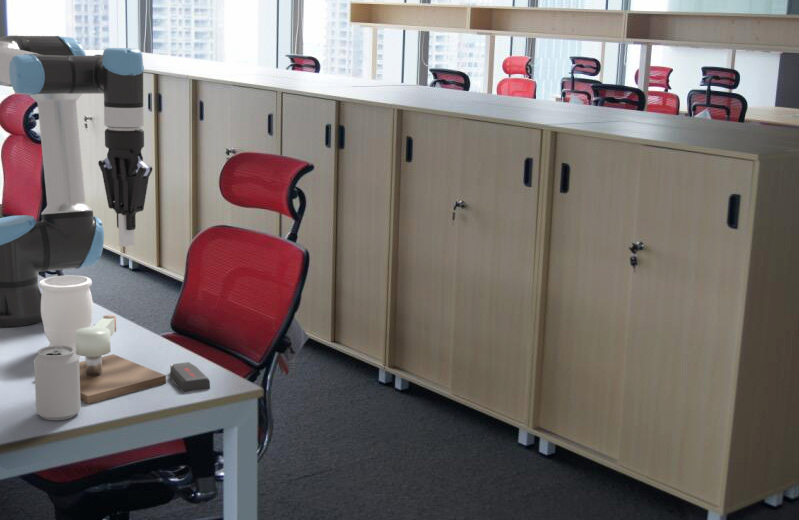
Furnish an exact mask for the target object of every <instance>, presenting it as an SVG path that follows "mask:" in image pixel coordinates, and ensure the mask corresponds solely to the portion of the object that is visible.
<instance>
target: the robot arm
mask: <svg viewBox="0 0 799 520" xmlns="http://www.w3.org/2000/svg"><path fill="white" fill-rule="evenodd" d="M84 49H85V48H84V47H83V45H82V44H81V43H80V42H79V40H77V39H76V38H74V37H71V36H70V37H68V36H60V35H4V36H1V37H0V86H2V87H9V88H11V87H12V90H13V91H14V92H15V93H16V94H18V95H19V94H21V95H25V94H26V95H29V96H30V98H31V99H33V100H34V101H35V102H36V103H37V110H38V121H39V129H40V130H39V133H40V140H41V142H40V143H41V144H40V145H41V152H42V161H43V163H42V164H43V175H44V184H45V196H46V207H45V208H44V209H43V211H42V212H41V213H40V215H41V220H40V221H39V220H38V221H37V220H36V219H35V217H34V216H33V215H27V214H23V215H19V214H18V215H10V216H4V217H0V328H2V327H3V328H4V327H5V328H8V327H10V328H12V327H13V328H14V327H23V326H28V325H34V324H38V323H40V322H43V321H42V316H41V296H42V292H41V291H42V290H41V289H40V285H39V279H38V278H39V277H38V273H39V272H51V271H60V270H72V269H77V270H78V269H81V268H88V267H93V266H95V265H96V264H97V263H98V262H99V261H100V259H101V256H102V254H103V249H104V244H105V243H104V242H105V232H104V231H105V230H104V226H103V222H102V220H101V219H100V217H97V216H94V210H93V209H92V207H90V206H89V205H88V204H87V202H86V197H85V194H86V193H85V185H84V184H85V183H84V173H83V164H82V152H81V140H80V132H79V120H78V119H79V118H78V111H77V110H78V109H77V100H78V99H79V98H81V96H82V95H84V94H85V95H88V94H90V95H91V94H93V95H95V94H97V95H98V94H103V122H104V123H103V125H104V126H105V127H106V128H105V130H104V146H105V147H106V148H107V149H108V151H107V154H106V157H105V158H104V159H101V160H98V163H97V165H98V167H99V169H100V171H101V174H102V179H103V184H104V190H105V195H106V200H107V205H108V208H109V209H112V210H114V212H115V213H116V228H117V229H118V246H120V247H124V248H125V247H129V246H133V245H135V230H136V221H137V220H136V219H137V218H136V214H137V213H140V212H143V211H144V208H145V203H146V197H147V196H146V195H147V192H148V191H147V190H148V184H149V178H150V176H151V174H152V172H153V166H152V165H147V164H146V163H145V162H144V157H143V154H142V150H143V148H145V131H144V129H143V127H144V121H145V119H144V113H145V111H144V71H145V66H144V62H143V61H144V58H143V53H142V51H141V50H140V49H138V48H129V47H128V48H127V47H108V48H105V49H104V50H103V52H102V54H94V55H86V52H85V50H84Z"/></svg>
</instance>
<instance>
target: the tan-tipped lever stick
mask: <svg viewBox="0 0 799 520" xmlns="http://www.w3.org/2000/svg"><path fill="white" fill-rule="evenodd" d="M116 332H117V316H116V315H112V314H111V315H110V314H109V315H103V316H102V317H101V319H100V320H98V321H97V322H96V324H94V326H91V327H86V328H81V329H78V330H77V331H75V341H76V354H77V355H78V356H81V357H85V356H86V357H94V356H102V357H103V356H106V355H109V353H111V337H112V336H113V335H114V334H115V333H116Z"/></svg>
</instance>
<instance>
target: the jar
mask: <svg viewBox="0 0 799 520" xmlns="http://www.w3.org/2000/svg"><path fill="white" fill-rule="evenodd" d="M92 281H93V280H92V279H91V278H90V277H87V276H83V275H57V276H50V277H46V278H43V279H41V280H40V281H39V288H41V290H42V292H41V294H42V296H41V316H42V321H41V322H42V324H43V329H44V335H45V336H46V337H45V338H46V339H47V341H48V342H49V344H48V346H55V345H64V346H70V347H73V348H74V349H75V353H76V341H75V331H77V330H78V329H81V328H86V327H92V320H93V313H94V304H93V295H92V293H91V289H90V287H91V286H92V284H93V282H92Z"/></svg>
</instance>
